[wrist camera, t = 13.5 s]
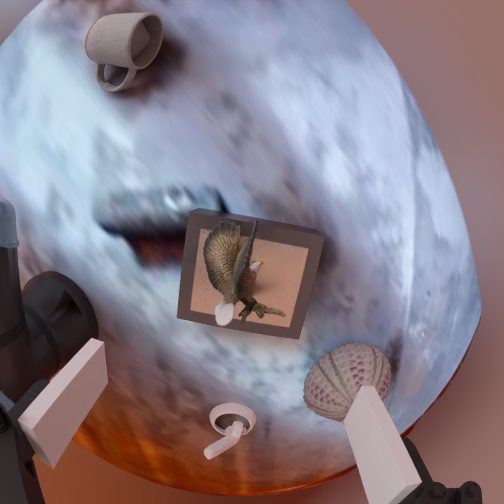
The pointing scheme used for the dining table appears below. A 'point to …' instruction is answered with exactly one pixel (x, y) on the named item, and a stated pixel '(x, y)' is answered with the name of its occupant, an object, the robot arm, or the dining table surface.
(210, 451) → the vr controller
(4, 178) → the dining table surface
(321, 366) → the sea urchin shell
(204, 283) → the dark boxy piece
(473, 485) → the robot arm
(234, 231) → the eagle figurine
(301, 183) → the dining table surface
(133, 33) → the ceramic mug
